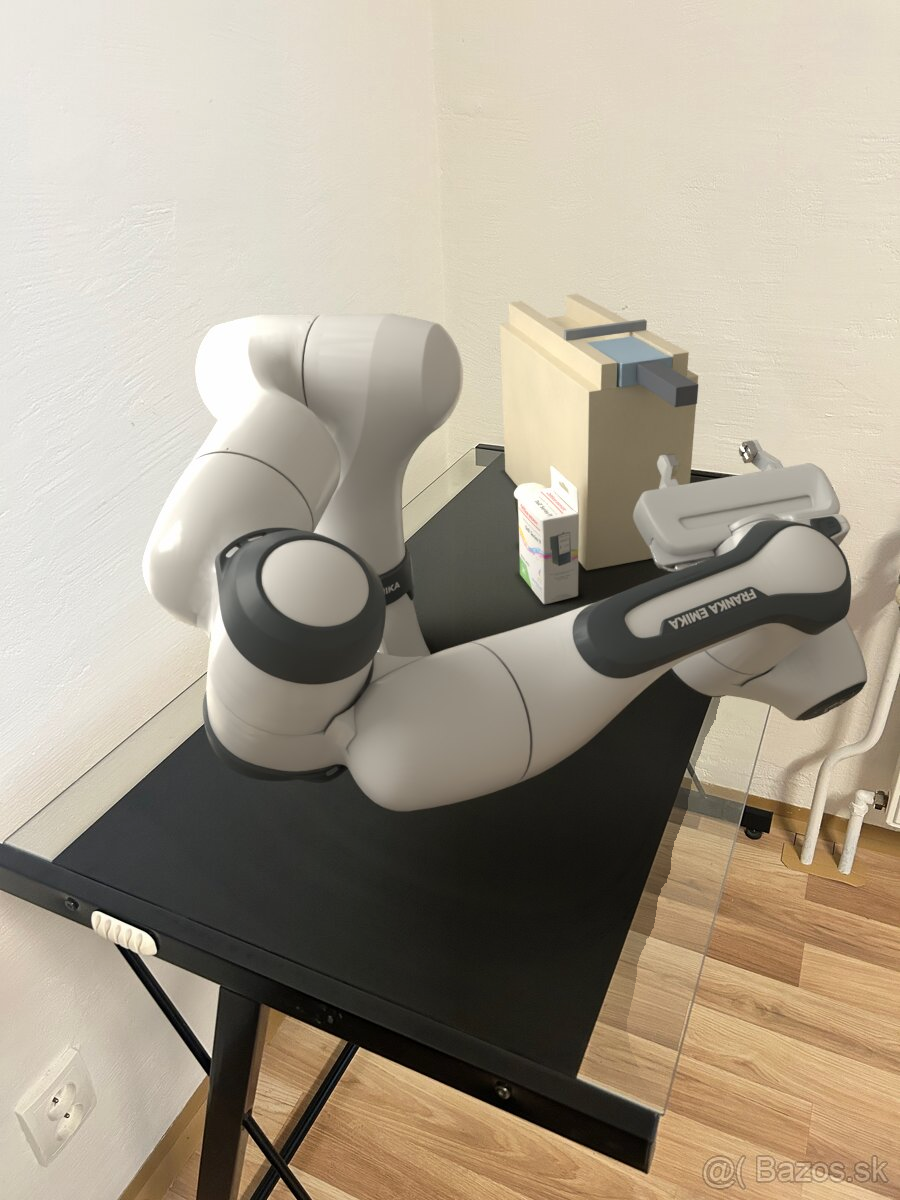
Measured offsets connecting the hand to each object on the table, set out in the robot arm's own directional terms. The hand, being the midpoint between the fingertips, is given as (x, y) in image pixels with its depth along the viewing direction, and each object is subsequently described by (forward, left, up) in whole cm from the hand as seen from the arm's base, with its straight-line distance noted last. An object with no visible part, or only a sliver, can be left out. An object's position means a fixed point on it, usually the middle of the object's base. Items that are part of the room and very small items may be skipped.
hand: (706, 451), depth 93 cm
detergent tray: (0, +16, +3) cm, 16 cm away
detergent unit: (0, +34, -21) cm, 40 cm away
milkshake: (-11, +25, -21) cm, 34 cm away
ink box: (-13, +14, -21) cm, 28 cm away
